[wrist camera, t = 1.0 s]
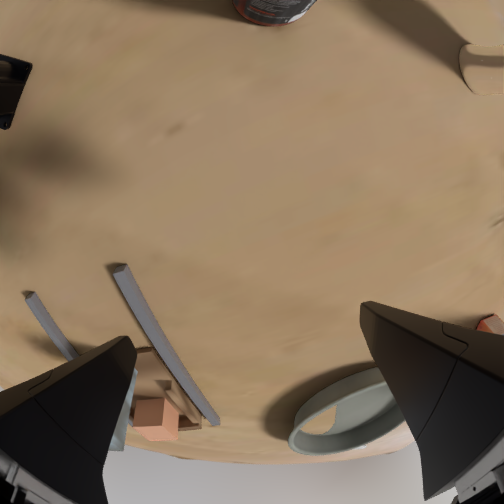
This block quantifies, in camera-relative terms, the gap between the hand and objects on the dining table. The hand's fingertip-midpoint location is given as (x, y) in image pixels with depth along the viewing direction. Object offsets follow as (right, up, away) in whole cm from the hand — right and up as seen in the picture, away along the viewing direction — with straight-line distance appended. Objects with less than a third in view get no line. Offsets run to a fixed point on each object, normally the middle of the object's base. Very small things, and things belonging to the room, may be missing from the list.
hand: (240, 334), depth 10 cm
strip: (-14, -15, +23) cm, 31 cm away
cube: (-13, -19, +24) cm, 33 cm away
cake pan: (+18, -23, +31) cm, 42 cm away
